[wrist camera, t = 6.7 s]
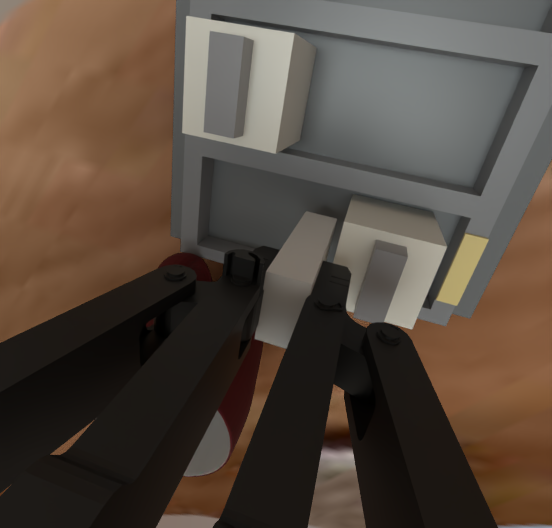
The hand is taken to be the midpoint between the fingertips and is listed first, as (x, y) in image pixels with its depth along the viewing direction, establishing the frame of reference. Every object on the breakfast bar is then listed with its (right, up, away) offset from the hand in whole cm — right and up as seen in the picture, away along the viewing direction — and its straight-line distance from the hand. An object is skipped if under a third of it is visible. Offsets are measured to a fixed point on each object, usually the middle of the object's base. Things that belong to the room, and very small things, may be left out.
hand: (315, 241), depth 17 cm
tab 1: (-2, +7, 0) cm, 8 cm away
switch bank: (+2, +7, +1) cm, 8 cm away
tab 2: (+4, 0, +2) cm, 4 cm away
